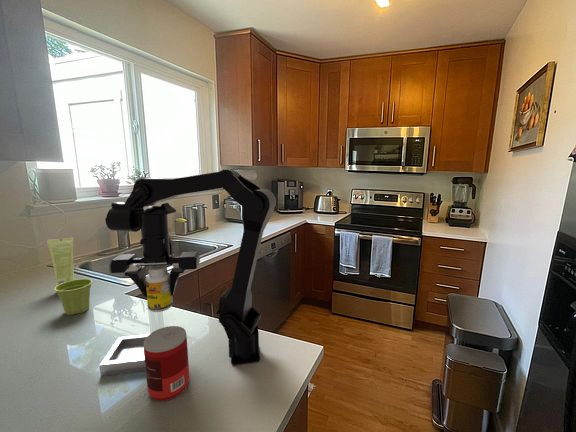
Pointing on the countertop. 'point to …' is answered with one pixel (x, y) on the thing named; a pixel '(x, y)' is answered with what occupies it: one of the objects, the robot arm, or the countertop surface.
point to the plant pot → (74, 295)
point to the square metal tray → (125, 356)
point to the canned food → (166, 362)
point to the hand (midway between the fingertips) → (159, 295)
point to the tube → (62, 259)
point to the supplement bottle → (158, 289)
